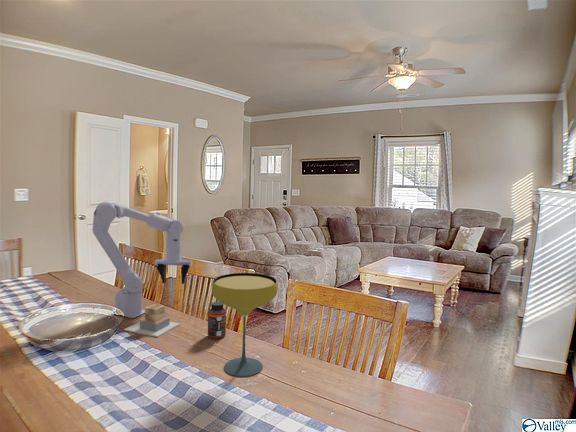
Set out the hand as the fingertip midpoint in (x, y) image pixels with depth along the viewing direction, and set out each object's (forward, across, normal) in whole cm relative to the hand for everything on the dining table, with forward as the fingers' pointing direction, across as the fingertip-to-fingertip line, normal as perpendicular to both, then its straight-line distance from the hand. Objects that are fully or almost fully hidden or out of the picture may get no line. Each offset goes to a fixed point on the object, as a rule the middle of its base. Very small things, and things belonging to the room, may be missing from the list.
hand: (173, 283), depth 154 cm
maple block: (+7, 0, -21) cm, 22 cm away
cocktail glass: (+11, +34, -48) cm, 59 cm away
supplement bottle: (+11, +22, -26) cm, 36 cm away
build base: (+10, -1, -21) cm, 23 cm away
